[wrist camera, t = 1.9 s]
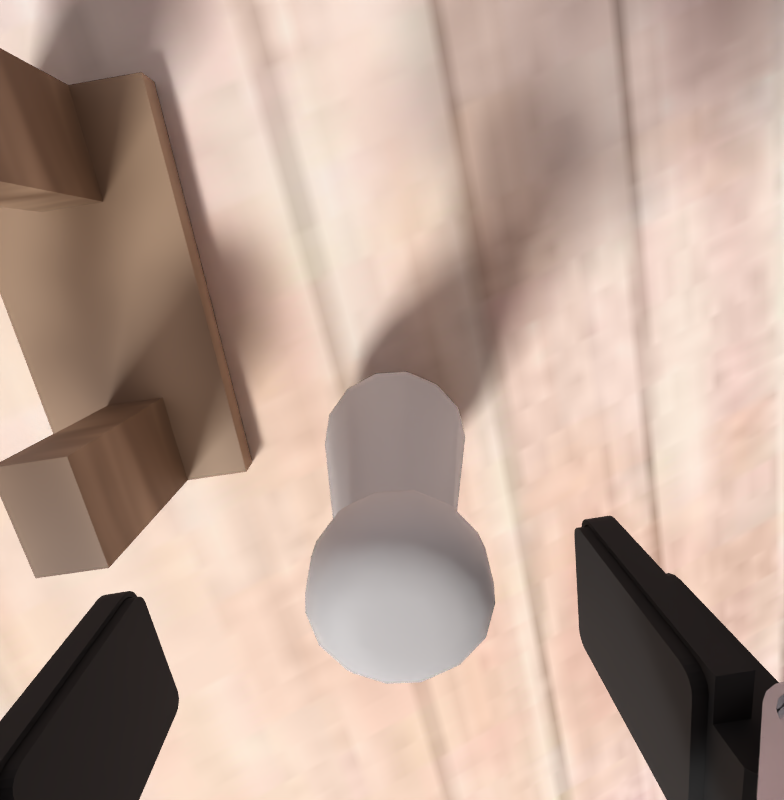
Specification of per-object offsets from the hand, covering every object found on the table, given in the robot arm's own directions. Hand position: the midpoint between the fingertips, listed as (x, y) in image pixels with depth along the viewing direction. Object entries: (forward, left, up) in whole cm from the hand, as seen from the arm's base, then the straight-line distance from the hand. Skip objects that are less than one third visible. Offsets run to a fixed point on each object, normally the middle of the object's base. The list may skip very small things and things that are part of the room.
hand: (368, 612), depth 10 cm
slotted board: (+10, -7, -13) cm, 18 cm away
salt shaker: (-1, 0, -13) cm, 13 cm away
